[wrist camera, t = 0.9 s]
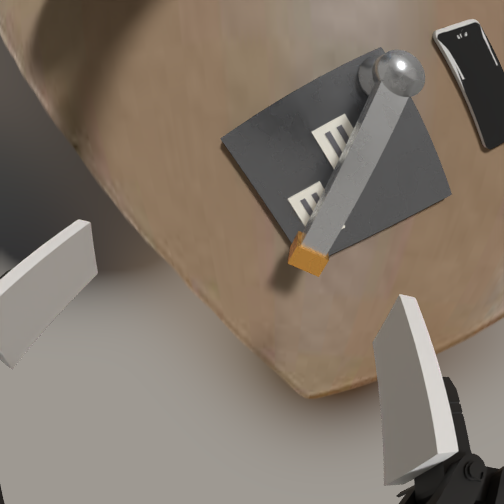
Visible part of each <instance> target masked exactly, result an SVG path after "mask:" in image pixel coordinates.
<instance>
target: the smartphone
mask: <svg viewBox="0 0 504 504" xmlns="http://www.w3.org/2000/svg"><path fill="white" fill-rule="evenodd" d="M433 39H434V40H435V42H436V44H437V45H438V47H439V49H440V51H441V52H442V54H443V56H444V58H445V59H446V61H447V63H448V65H449V67H450V69H451V71H452V73H453V75H454V77H455V79H456V81H457V83H458V85H459V87H460V89H461V91H462V93H463V96H464V98H465V100H466V102H467V105H468V107H469V109H470V112H471V114H472V117H473V119H474V122H475V125H476V127H477V130H478V133H479V135H480V138H481V141H482V144H483V146H484V147H486V148H488V149H492V148H494V147H496V146H498V145H500V144H502V143H504V72H503V69H502V67H501V65H500V63H499V60H498V58H497V56H496V54H495V52H494V50H493V48H492V46H491V44H490V42H489V40H488V38H487V36H486V35H485V33H484V31H483V29H482V27H481V26H480V24H479V23H478V22H477V21H476V20H475V19H470V20H466V21H463V22H460V23H457V24H454V25H451V26H448V27H445V28H442V29H439V30H437V31H435V32H434V33H433Z"/></svg>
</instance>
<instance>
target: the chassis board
mask: <svg viewBox="0 0 504 504" xmlns="http://www.w3.org/2000/svg"><path fill="white" fill-rule="evenodd" d="M383 54H385V52H384V51H383V49H382V48H381V47H380V48H378V49H375V50H373V51H371V52H369V53H367V54H364V55H362V56H360V57H358V58H356V59H354V60H352V61H350V62H348V63H346V64H344V65H342V66H340V67H338V68H336V69H334V70H332V71H330V72H328V73H326V74H324V75H323V76H321V77H319V78H317V79H315V80H313V81H312V82H310V83H308V84H306V85H304V86H303V87H301V88H299V89H297V90H296V91H294V92H292V93H290V94H289V95H287V96H285V97H284V98H282V99H280V100H279V101H277V102H275V103H274V104H272V105H271V106H269V107H267V108H266V109H264V110H263V111H261V112H259V113H258V114H256V115H255V116H253V117H252V118H250V119H249V120H247V121H246V122H244V123H242V124H241V125H239V126H238V127H237V128H235V129H234V130H232V131H231V132H229V133H228V134H226V135H225V136H223V137H222V138H221V140H222V142H223V143H224V144H225V146H226V147H227V149H228V150H229V152H230V153H231V154H232V156H233V157H234V159H235V160H236V161H237V163H238V164H239V166H240V167H241V169H242V170H243V172H244V173H245V174H246V176H247V177H248V179H249V180H250V182H251V183H252V185H253V186H254V188H255V189H256V190H257V192H258V193H259V195H260V196H261V198H262V199H263V201H264V202H265V204H266V205H267V207H268V208H269V210H270V211H271V213H272V214H273V216H274V217H275V219H276V220H277V222H278V223H279V225H280V226H281V228H282V229H283V231H284V232H285V234H286V235H287V237H288V238H289V240H290V241H291V243H293V241H294V239H295V237H296V235H297V233H298V231H300V232H303V230H304V228H305V226H304V224H303V223H302V221H301V219H300V218H299V216H298V215H297V213H296V211H295V210H294V208H293V207H292V205H291V204H290V202H289V200H288V198H290V197H291V196H293V195H295V194H297V193H299V192H300V191H302V190H304V189H306V188H308V187H310V186H312V185H313V184H315V183H317V182H319V181H320V183H321V184H322V186H323V188H324V189H325V187H326V185H327V183H328V181H329V179H330V177H331V175H332V173H333V171H334V169H333V167H332V165H331V164H330V162H329V160H328V158H327V157H326V155H325V153H324V152H323V150H322V148H321V147H320V145H319V144H318V142H317V140H316V139H315V137H314V136H313V134H312V131H314V130H315V129H317V128H319V127H321V126H323V125H324V124H326V123H328V122H330V121H332V120H334V119H336V118H337V117H339V116H341V115H343V114H345V115H346V117H347V118H348V120H349V122H350V123H351V125H352V127H353V128H354V127H355V125H356V123H357V121H358V118H359V116H360V114H361V112H362V110H363V108H364V105H365V103H366V101H367V99H368V97H369V95H370V92H371V90H372V88H373V86H374V83H375V82H374V80H373V76H372V67H373V64H374V62H375V61H376V59H377V58H379V57H380V56H382V55H383ZM450 195H452V194H451V191H450V188H449V185H448V182H447V179H446V176H445V173H444V171H443V168H442V165H441V163H440V160H439V157H438V155H437V152H436V150H435V148H434V145H433V143H432V140H431V138H430V136H429V134H428V131H427V129H426V127H425V125H424V123H423V120H422V118H421V116H420V114H419V112H418V110H417V108H416V106H415V104H414V102H413V100H412V98H411V97H409V98H408V100H407V102H406V104H405V107H404V109H403V111H402V113H401V115H400V117H399V119H398V122H397V124H396V126H395V128H394V130H393V132H392V134H391V136H390V138H389V140H388V142H387V144H386V146H385V148H384V150H383V152H382V154H381V156H380V158H379V160H378V162H377V164H376V166H375V168H374V170H373V172H372V174H371V176H370V178H369V180H368V182H367V183H366V185H365V187H364V189H363V191H362V193H361V195H360V197H359V198H358V200H357V202H356V204H355V206H354V208H353V209H352V211H351V213H350V215H349V217H348V218H347V220H346V222H345V224H344V225H345V228H343V229H341V231H340V232H339V234H338V236H337V238H336V239H335V241H334V243H333V245H332V246H331V248H330V250H329V251H328V256H329V255H331V254H334V253H336V252H338V251H340V250H342V249H344V248H346V247H348V246H350V245H353V244H355V243H357V242H359V241H361V240H363V239H365V238H367V237H369V236H371V235H373V234H375V233H377V232H379V231H381V230H383V229H385V228H387V227H389V226H391V225H393V224H395V223H397V222H399V221H401V220H403V219H405V218H407V217H409V216H411V215H413V214H415V213H417V212H419V211H421V210H423V209H425V208H427V207H429V206H431V205H433V204H435V203H437V202H438V201H440V200H442V199H444V198H446V197H448V196H450Z"/></svg>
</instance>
